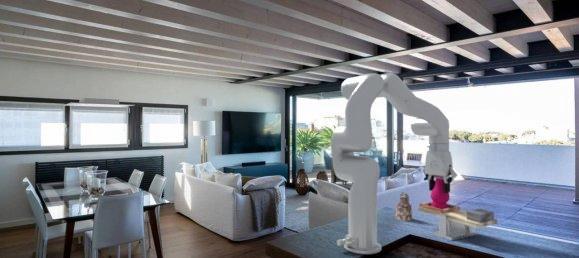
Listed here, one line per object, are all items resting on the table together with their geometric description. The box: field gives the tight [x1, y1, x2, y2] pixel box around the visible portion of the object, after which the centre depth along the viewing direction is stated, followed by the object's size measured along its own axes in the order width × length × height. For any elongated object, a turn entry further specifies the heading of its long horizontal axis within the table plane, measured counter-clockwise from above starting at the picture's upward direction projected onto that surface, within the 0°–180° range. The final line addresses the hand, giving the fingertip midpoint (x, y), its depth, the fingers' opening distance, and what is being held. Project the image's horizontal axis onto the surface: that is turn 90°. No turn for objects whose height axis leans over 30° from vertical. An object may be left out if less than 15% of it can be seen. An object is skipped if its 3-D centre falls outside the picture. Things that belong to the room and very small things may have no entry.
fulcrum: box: [433, 209, 478, 241], centre depth 129 cm, size 15×8×8 cm, turn 118°
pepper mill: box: [429, 172, 450, 209], centre depth 137 cm, size 7×7×20 cm
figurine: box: [395, 191, 413, 222], centre depth 152 cm, size 7×7×12 cm
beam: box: [418, 201, 498, 229], centre depth 129 cm, size 12×25×4 cm, turn 28°
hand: (439, 191), depth 136 cm, fingers open, 6 cm apart
